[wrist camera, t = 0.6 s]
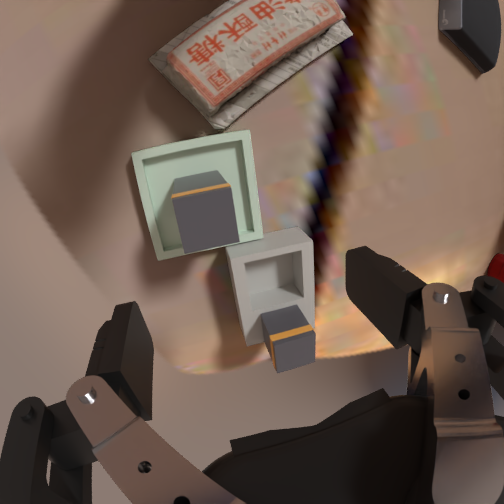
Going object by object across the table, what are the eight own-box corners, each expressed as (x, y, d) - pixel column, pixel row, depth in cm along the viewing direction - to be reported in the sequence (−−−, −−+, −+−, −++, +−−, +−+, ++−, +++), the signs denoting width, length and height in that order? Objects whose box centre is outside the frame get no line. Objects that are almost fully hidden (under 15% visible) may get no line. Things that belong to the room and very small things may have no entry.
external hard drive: (432, 26, 24) (453, 22, 21) (440, -46, 18) (457, -52, 14) (482, 76, 28) (501, 77, 25) (487, 1, 22) (503, 0, 18)
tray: (133, 151, 24) (131, 153, 23) (246, 129, 26) (249, 129, 25) (158, 254, 29) (157, 260, 28) (259, 232, 31) (263, 238, 29)
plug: (173, 178, 26) (171, 199, 19) (217, 169, 26) (232, 187, 19) (182, 219, 28) (184, 254, 21) (224, 210, 28) (240, 242, 21)
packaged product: (225, 135, 22) (141, 50, 17) (217, 133, 26) (148, 62, 22) (372, 28, 20) (306, -48, 15) (347, 37, 24) (289, -29, 19)
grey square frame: (223, 242, 30) (241, 287, 22) (297, 226, 31) (337, 264, 23) (239, 324, 35) (257, 379, 27) (302, 308, 36) (332, 356, 28)
